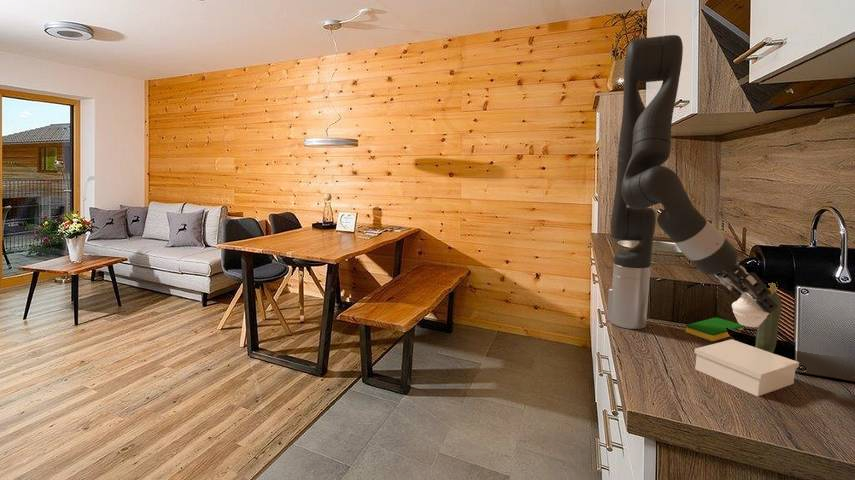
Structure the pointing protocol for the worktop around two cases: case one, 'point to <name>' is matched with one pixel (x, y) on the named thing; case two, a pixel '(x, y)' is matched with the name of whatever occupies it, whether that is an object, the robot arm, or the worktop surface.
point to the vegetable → (769, 324)
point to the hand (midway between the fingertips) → (760, 304)
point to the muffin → (748, 311)
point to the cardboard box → (746, 366)
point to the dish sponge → (712, 328)
